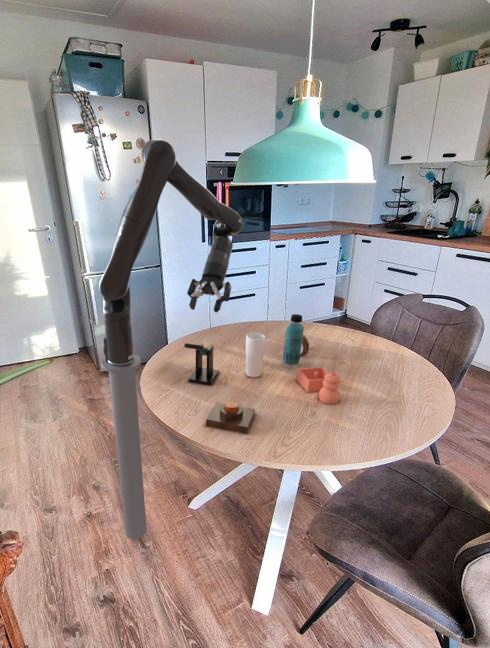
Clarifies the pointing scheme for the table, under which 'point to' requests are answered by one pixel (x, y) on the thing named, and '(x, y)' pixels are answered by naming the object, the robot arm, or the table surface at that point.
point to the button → (231, 407)
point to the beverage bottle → (293, 341)
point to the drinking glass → (254, 353)
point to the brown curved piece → (303, 345)
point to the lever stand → (204, 369)
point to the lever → (197, 348)
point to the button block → (231, 418)
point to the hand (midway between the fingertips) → (203, 310)
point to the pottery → (320, 383)
